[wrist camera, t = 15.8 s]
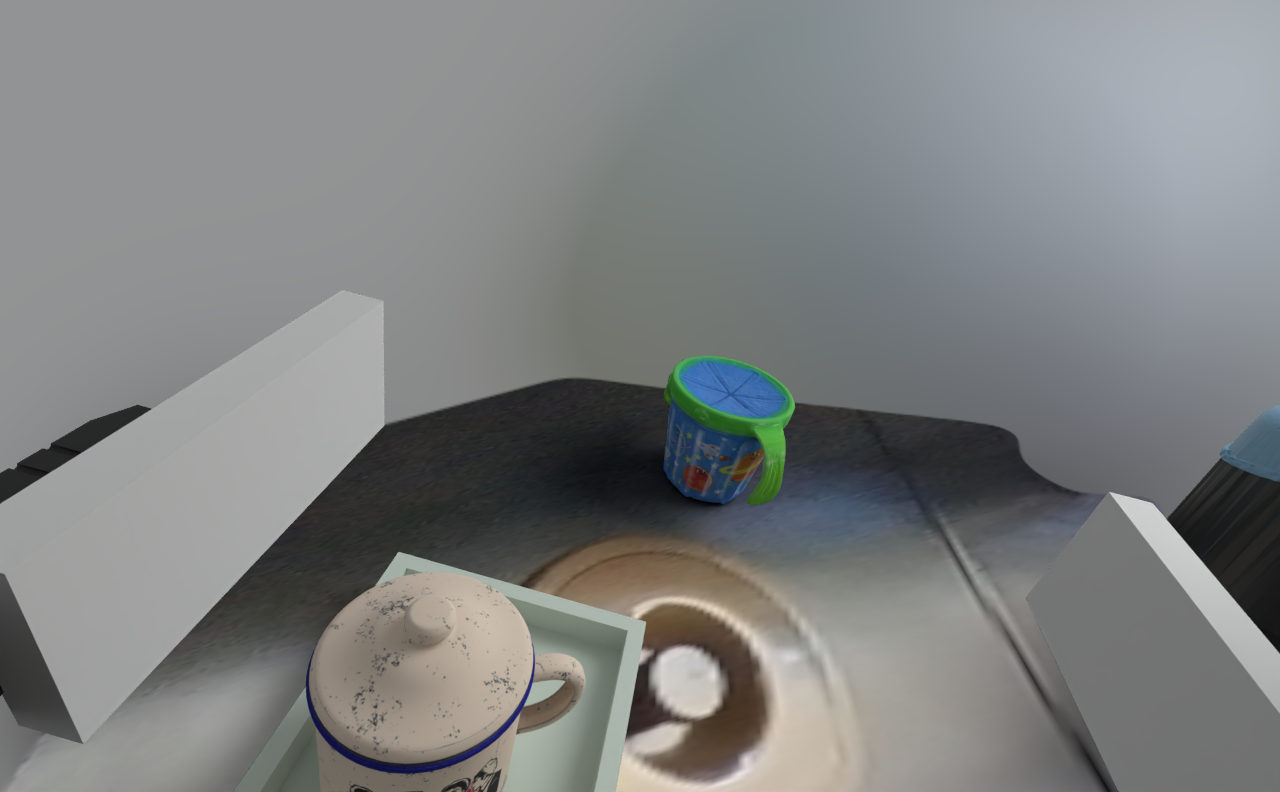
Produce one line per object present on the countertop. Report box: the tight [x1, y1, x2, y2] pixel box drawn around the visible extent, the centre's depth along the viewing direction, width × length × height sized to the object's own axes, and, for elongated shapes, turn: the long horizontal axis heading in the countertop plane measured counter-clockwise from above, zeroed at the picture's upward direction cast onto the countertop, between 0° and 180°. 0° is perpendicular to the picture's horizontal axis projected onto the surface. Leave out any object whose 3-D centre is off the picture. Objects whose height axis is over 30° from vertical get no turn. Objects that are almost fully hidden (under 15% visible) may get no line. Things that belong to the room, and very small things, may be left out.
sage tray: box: [233, 552, 646, 792], centre depth 31 cm, size 16×20×3 cm
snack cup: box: [664, 356, 795, 505], centre depth 55 cm, size 16×10×10 cm
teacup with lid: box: [306, 572, 586, 792], centre depth 29 cm, size 12×9×12 cm
